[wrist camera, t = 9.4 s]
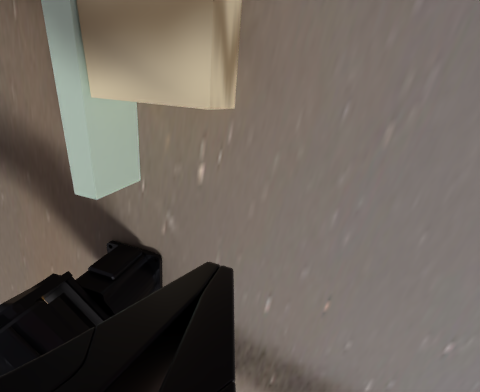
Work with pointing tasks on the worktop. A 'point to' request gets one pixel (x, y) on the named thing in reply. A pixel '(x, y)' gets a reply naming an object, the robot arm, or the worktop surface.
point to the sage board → (89, 112)
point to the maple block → (162, 51)
